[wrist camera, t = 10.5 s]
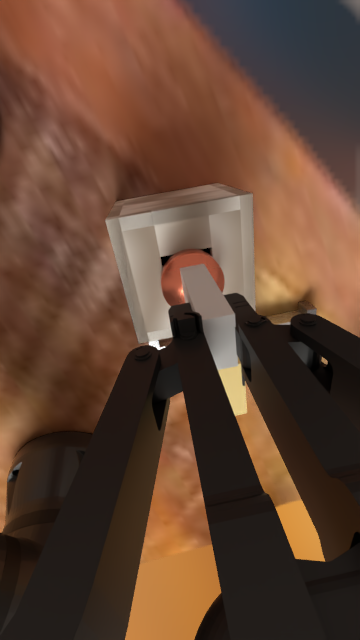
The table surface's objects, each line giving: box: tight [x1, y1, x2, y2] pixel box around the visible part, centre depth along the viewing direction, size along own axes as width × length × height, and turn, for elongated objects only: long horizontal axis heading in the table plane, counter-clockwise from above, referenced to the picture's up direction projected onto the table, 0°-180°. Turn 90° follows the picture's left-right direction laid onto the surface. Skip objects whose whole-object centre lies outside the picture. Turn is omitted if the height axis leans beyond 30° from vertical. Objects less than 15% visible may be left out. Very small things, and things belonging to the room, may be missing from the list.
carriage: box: [218, 358, 247, 416], centre depth 29 cm, size 5×6×8 cm
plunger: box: [160, 249, 225, 306], centre depth 21 cm, size 4×4×5 cm
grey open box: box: [105, 183, 256, 344], centre depth 23 cm, size 9×9×9 cm
